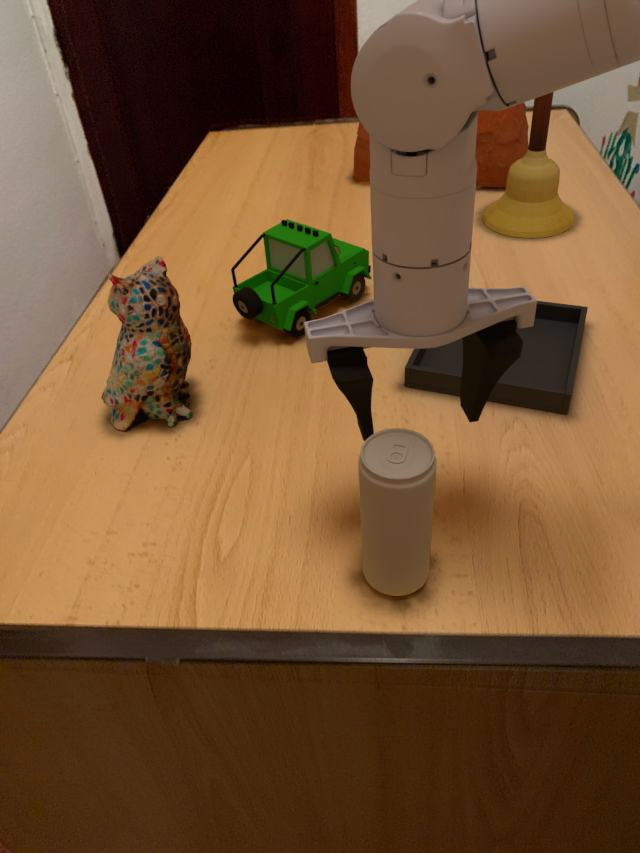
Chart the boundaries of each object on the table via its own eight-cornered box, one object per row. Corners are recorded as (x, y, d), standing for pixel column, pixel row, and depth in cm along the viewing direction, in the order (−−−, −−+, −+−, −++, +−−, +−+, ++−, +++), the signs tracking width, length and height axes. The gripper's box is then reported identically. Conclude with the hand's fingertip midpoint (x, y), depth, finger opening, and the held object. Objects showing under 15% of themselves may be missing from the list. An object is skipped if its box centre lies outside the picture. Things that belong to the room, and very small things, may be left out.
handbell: (592, 230, 86) (636, 5, 69) (500, 243, 85) (524, 20, 68) (552, 194, 95) (583, -11, 79) (469, 206, 94) (483, 2, 78)
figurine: (136, 375, 69) (92, 243, 59) (216, 381, 67) (184, 245, 57) (99, 429, 63) (43, 291, 53) (185, 437, 61) (144, 295, 51)
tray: (583, 325, 69) (588, 306, 68) (567, 414, 59) (571, 394, 58) (442, 307, 74) (443, 289, 73) (404, 386, 64) (404, 367, 63)
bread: (371, 151, 115) (369, 85, 108) (530, 155, 107) (539, 85, 100) (346, 186, 104) (342, 115, 97) (521, 193, 96) (530, 117, 89)
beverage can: (355, 592, 47) (349, 473, 39) (371, 541, 50) (368, 421, 42) (422, 607, 45) (430, 486, 38) (434, 553, 49) (443, 432, 41)
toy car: (377, 290, 78) (375, 209, 72) (274, 357, 70) (260, 272, 63) (326, 271, 83) (319, 193, 77) (223, 331, 74) (205, 250, 68)
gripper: (514, 201, 42) (494, 373, 51) (289, 235, 41) (309, 405, 49) (564, 249, 36) (532, 432, 45) (306, 290, 35) (326, 469, 44)
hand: (417, 422), depth 47 cm, fingers open, 7 cm apart
